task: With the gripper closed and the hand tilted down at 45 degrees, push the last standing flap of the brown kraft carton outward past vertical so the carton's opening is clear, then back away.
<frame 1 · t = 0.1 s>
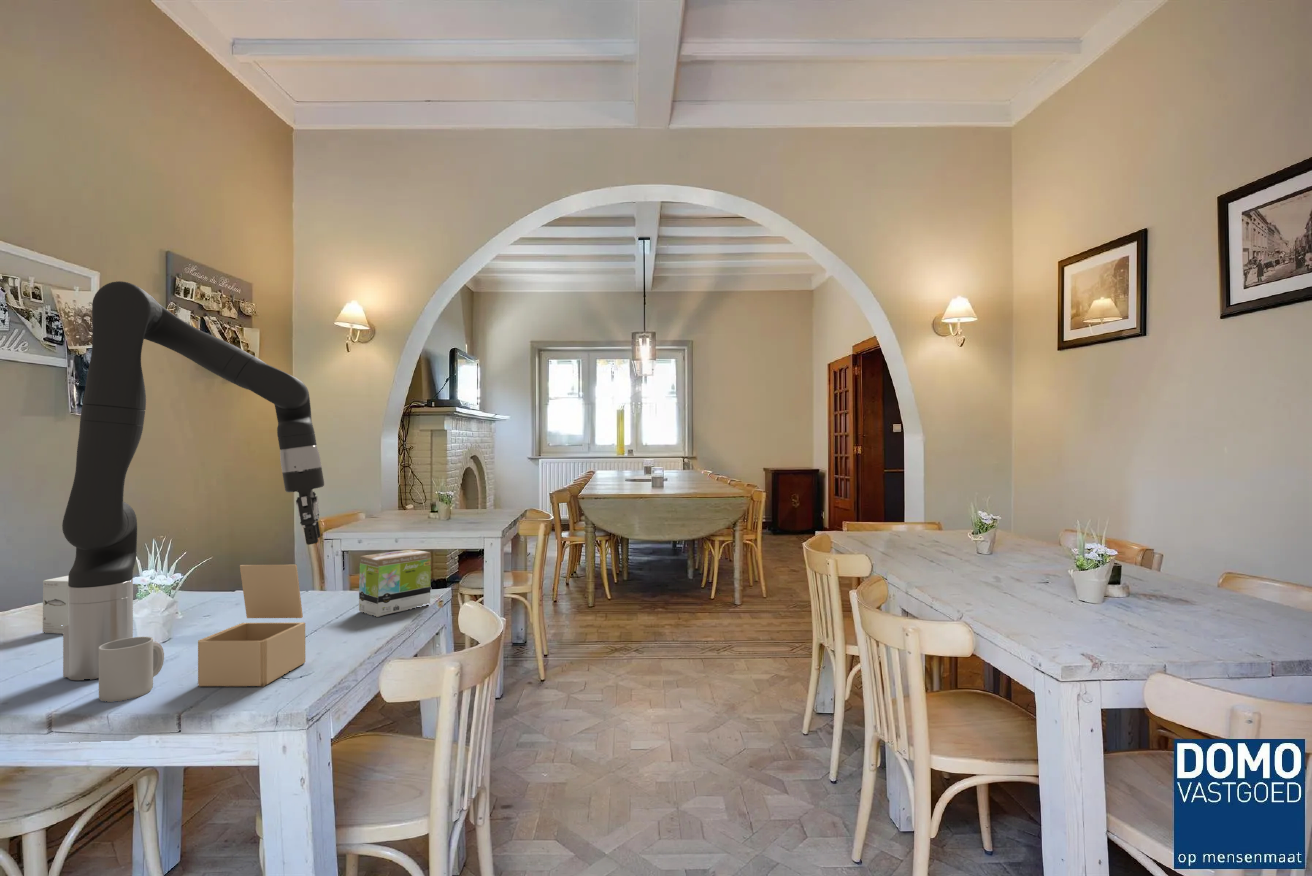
hand: (313, 541, 134), 22 cm above the table, tool pointing down, fingers open, 8 cm apart
supplement box: (71, 630, 147), on the table
flap: (271, 591, 120), point 14 cm above the table, hinge at -10.0°
carton: (254, 674, 115), on the table
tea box: (395, 609, 162), on the table
cup: (134, 692, 108), on the table
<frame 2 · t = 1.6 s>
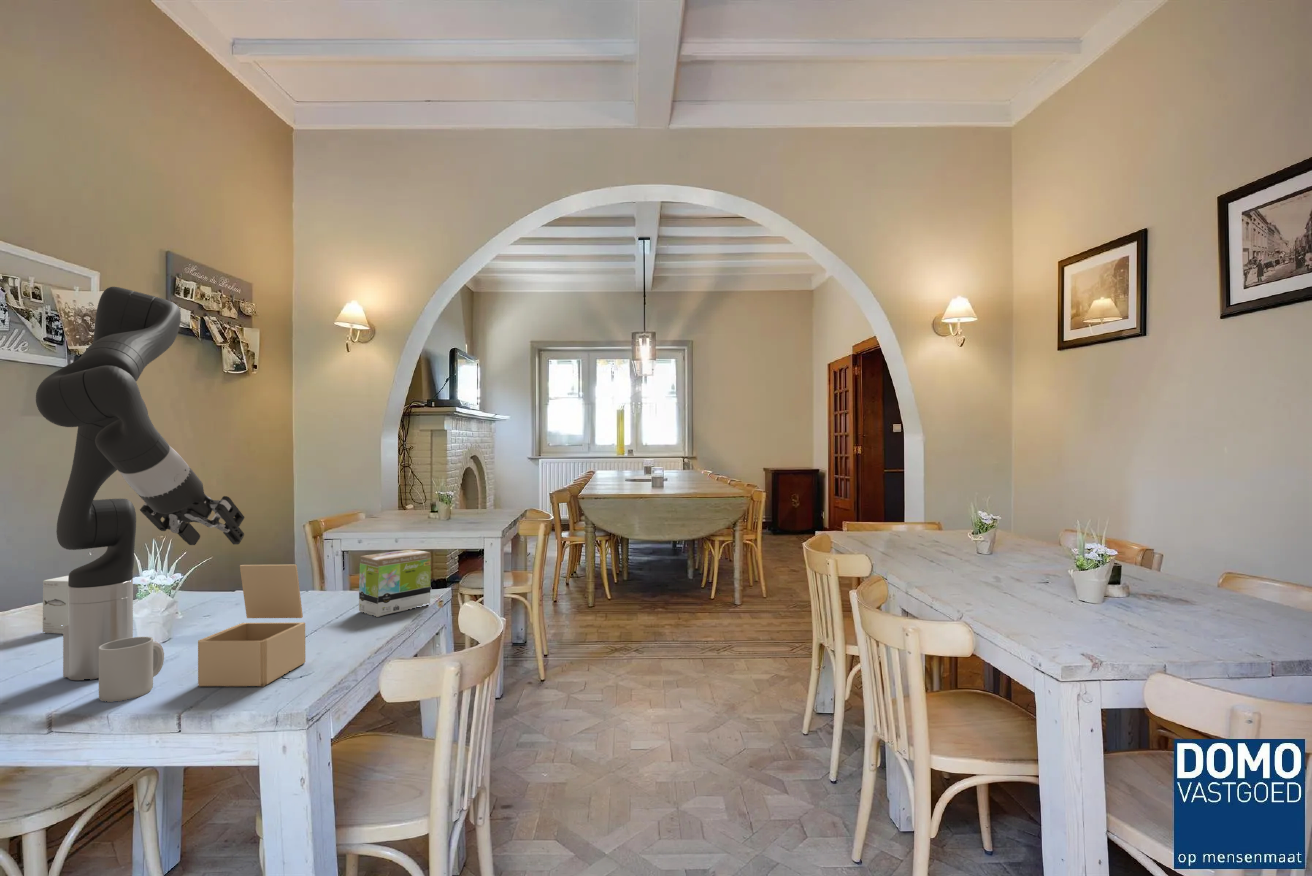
hand: (217, 540, 106), 27 cm above the table, tool tilted 45°, fingers open, 7 cm apart
nothing on the table moved.
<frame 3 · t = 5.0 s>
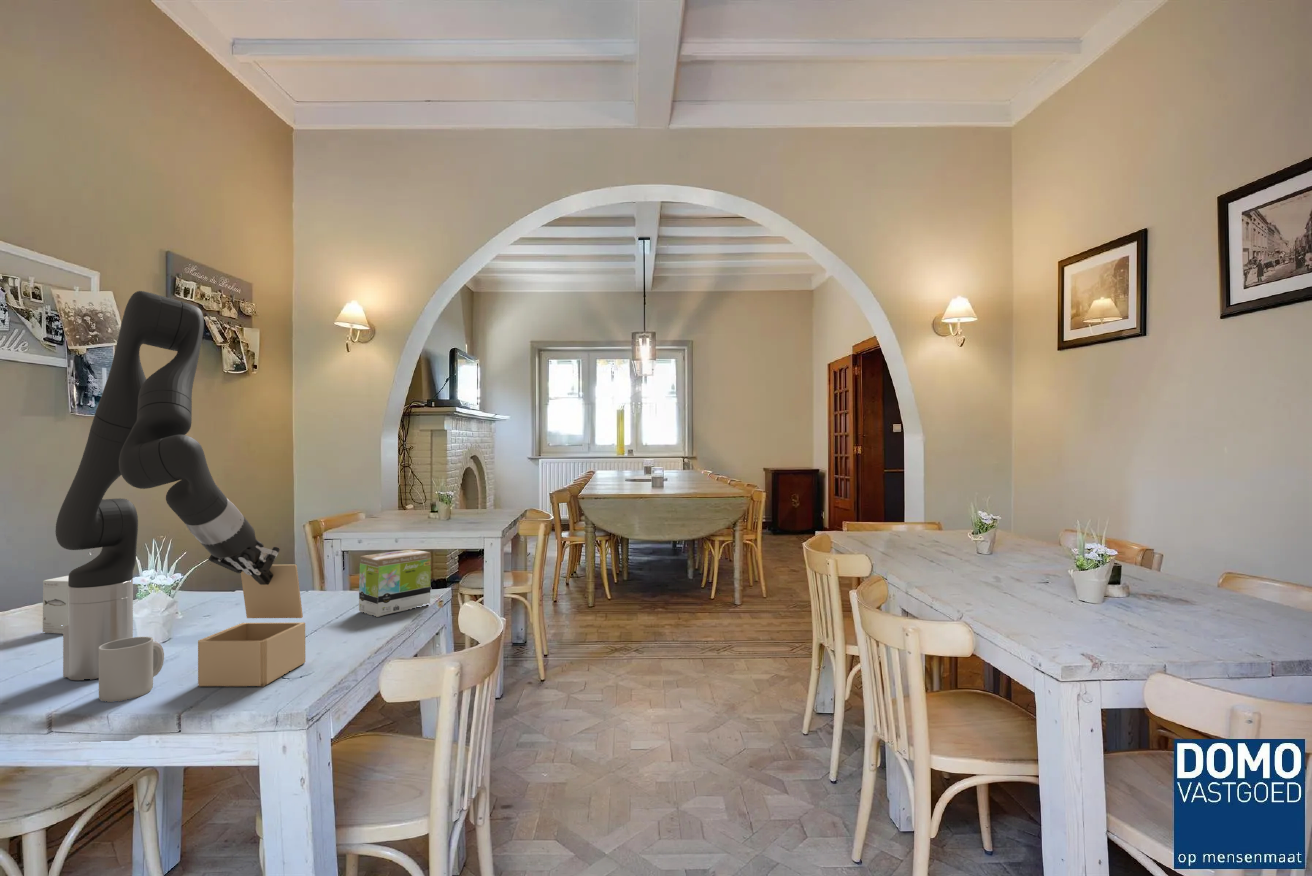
hand: (267, 580, 119), 17 cm above the table, tool tilted 45°, fingers closed
flap: (271, 591, 120), point 14 cm above the table, hinge at -10.0°, touching gripper
everything else where it was.
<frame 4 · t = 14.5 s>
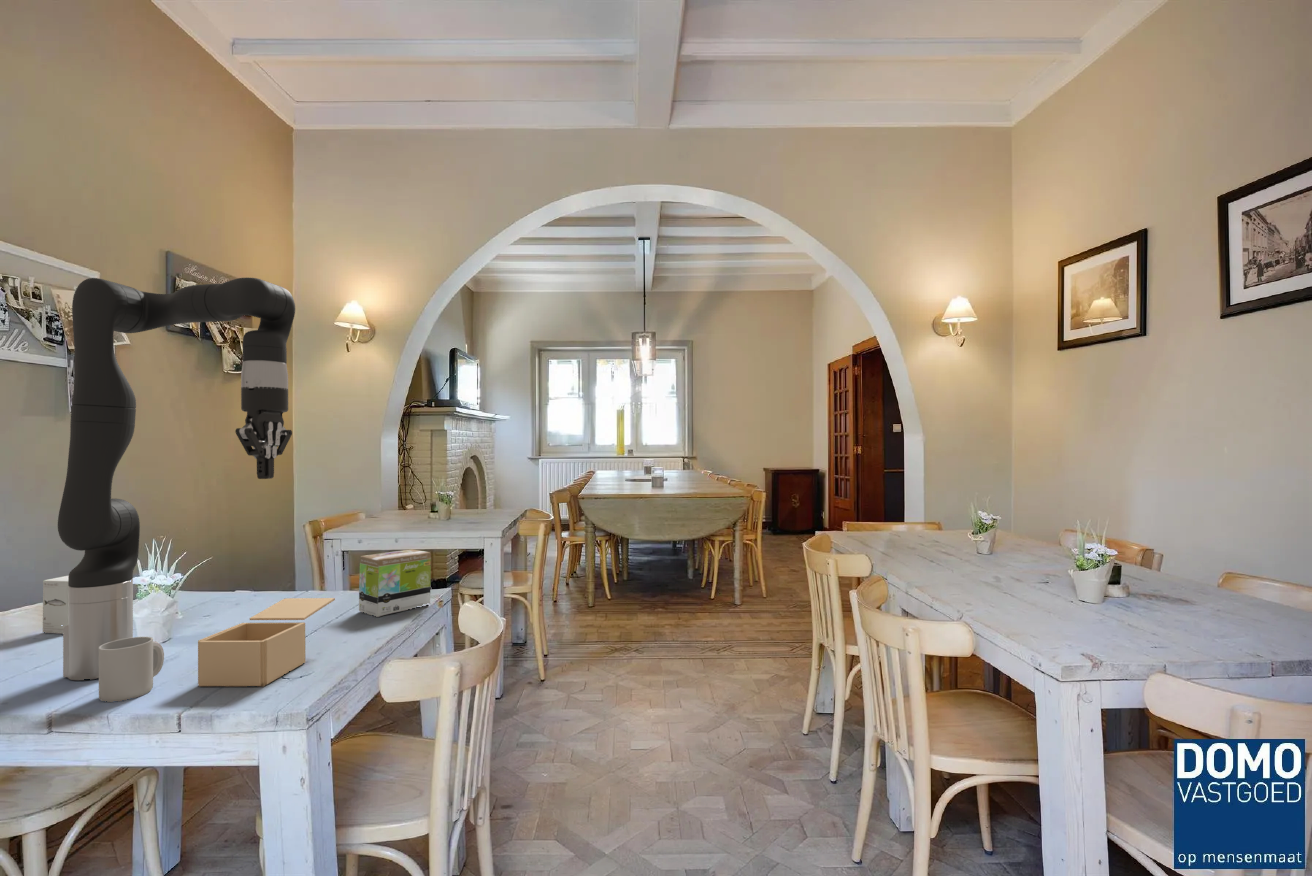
hand: (265, 478, 115), 37 cm above the table, tool pointing down, fingers closed
flap: (294, 608, 127), point 9 cm above the table, hinge at 83.3°
everything else where it was.
at the end: flap at +83° (first picture: -10°); flap touching nothing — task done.
